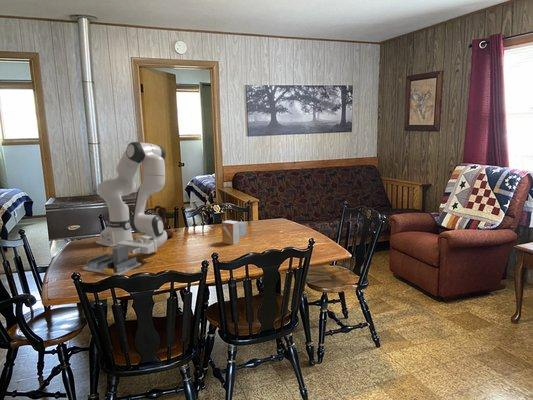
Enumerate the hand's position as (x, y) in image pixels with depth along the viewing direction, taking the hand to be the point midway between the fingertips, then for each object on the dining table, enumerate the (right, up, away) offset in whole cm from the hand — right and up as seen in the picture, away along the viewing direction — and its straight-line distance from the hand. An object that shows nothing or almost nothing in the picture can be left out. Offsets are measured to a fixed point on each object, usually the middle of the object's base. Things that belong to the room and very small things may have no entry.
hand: (124, 251), depth 195 cm
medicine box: (+53, +2, +58) cm, 78 cm away
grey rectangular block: (-1, -7, -1) cm, 8 cm away
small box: (+49, -1, +42) cm, 64 cm away
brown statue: (+3, +1, +56) cm, 56 cm away
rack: (-6, -8, +1) cm, 10 cm away
